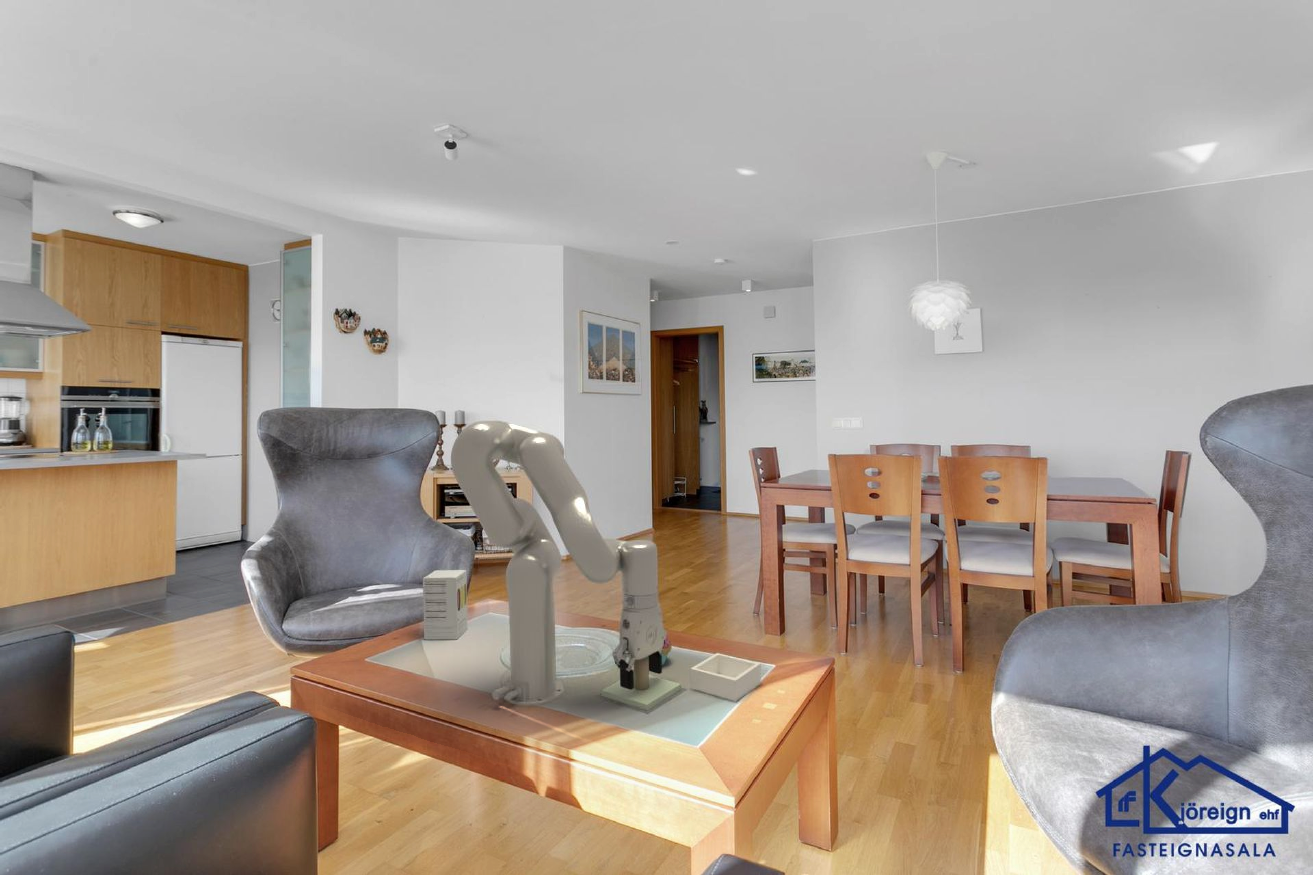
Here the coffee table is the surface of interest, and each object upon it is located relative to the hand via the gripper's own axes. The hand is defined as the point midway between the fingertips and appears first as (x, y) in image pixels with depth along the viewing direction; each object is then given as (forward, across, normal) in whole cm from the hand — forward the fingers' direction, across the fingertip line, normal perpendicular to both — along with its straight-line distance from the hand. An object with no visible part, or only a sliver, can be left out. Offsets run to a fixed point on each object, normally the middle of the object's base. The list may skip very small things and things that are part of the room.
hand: (641, 679), depth 136 cm
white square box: (+3, +13, -13) cm, 19 cm away
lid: (+3, 0, 0) cm, 3 cm away
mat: (+3, 0, 0) cm, 3 cm away
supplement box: (+4, 0, +68) cm, 68 cm away
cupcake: (+4, +15, +8) cm, 17 cm away
